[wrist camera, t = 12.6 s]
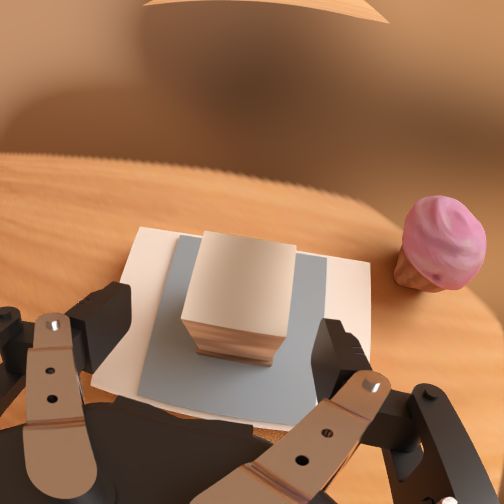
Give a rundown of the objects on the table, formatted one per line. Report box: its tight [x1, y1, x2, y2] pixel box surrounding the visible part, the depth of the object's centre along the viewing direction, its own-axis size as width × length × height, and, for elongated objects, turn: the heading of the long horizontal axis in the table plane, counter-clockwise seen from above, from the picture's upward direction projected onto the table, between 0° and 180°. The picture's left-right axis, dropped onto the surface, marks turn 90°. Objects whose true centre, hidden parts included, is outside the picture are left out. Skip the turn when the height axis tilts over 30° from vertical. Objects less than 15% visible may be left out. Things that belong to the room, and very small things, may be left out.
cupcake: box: [394, 196, 486, 293], centre depth 24 cm, size 9×9×10 cm
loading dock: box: [90, 227, 371, 431], centre depth 23 cm, size 20×14×4 cm
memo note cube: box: [181, 231, 297, 367], centre depth 17 cm, size 5×5×8 cm
